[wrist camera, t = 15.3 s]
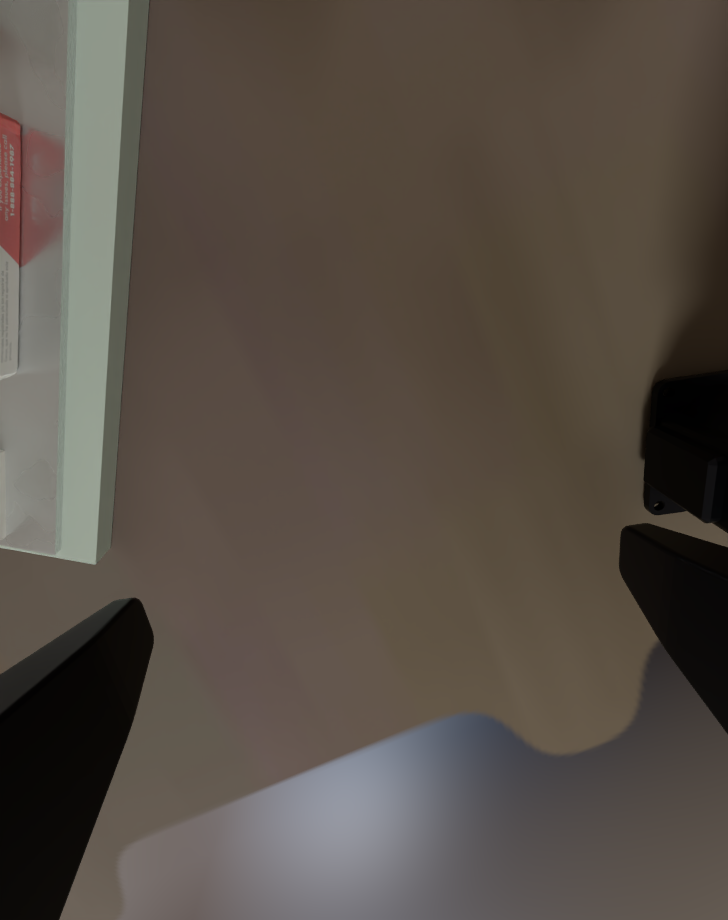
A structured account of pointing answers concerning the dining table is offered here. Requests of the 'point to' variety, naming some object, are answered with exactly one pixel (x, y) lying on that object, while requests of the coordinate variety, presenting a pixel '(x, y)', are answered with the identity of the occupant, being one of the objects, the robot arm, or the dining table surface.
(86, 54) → the panel
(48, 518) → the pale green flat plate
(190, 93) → the dining table surface
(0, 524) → the block
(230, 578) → the dining table surface
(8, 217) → the ink cartridge box
